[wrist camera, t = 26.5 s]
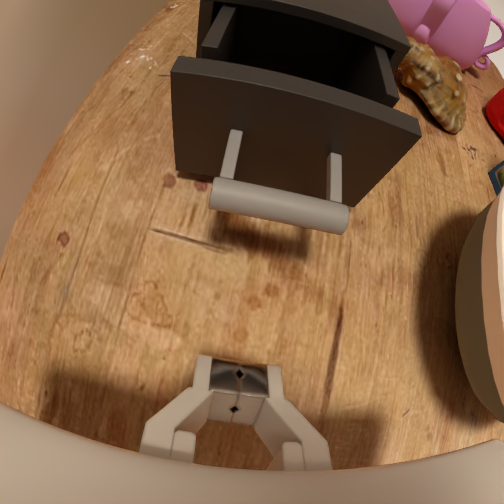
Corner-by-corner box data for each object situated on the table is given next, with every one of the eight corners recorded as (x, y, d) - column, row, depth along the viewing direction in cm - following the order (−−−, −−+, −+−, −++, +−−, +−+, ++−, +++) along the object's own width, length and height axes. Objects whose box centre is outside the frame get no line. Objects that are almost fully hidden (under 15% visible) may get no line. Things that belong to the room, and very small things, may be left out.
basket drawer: (353, 270, 18) (436, 217, 11) (157, 233, 17) (134, 148, 10) (346, 84, 24) (383, 18, 16) (217, 53, 22) (228, -24, 15)
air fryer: (353, 135, 23) (412, 47, 14) (193, 99, 21) (201, -11, 12) (343, 47, 27) (376, -21, 18) (227, 19, 26) (241, -57, 17)
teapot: (398, 52, 30) (449, -30, 16) (348, -14, 36) (375, -76, 23) (487, 90, 33) (535, 36, 20) (432, 18, 40) (463, -30, 26)
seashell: (394, 136, 28) (392, 47, 20) (386, 97, 32) (380, 23, 24) (474, 142, 25) (487, 58, 17) (455, 102, 29) (460, 30, 21)
